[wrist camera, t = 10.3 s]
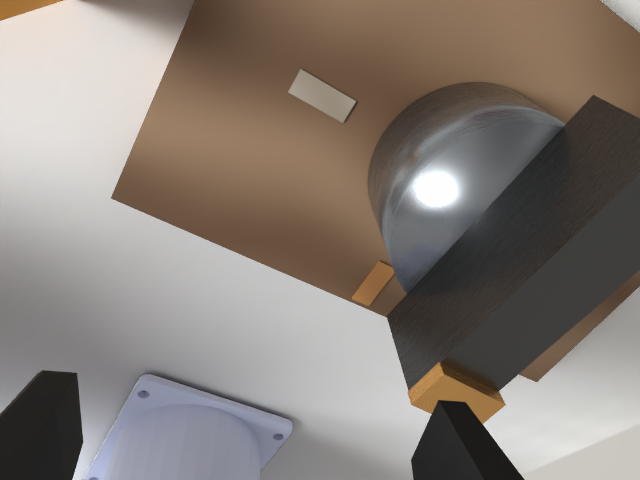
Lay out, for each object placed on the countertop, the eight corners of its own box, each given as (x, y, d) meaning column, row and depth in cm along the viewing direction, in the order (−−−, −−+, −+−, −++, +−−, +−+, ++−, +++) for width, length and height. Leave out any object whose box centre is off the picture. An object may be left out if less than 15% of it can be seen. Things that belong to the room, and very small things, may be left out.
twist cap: (608, 131, 17) (802, 248, 11) (449, 293, 20) (528, 458, 14) (472, 15, 15) (619, 76, 9) (317, 217, 18) (340, 372, 12)
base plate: (523, 358, 25) (537, 383, 24) (122, 179, 18) (109, 199, 17) (751, 136, 19) (786, 151, 18) (296, -226, 13) (298, -244, 12)
